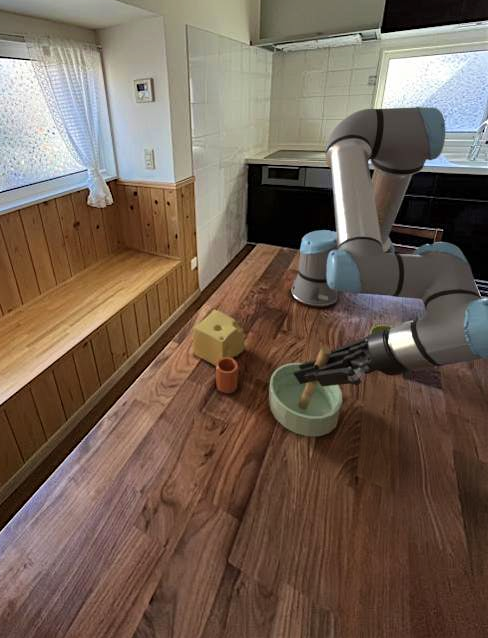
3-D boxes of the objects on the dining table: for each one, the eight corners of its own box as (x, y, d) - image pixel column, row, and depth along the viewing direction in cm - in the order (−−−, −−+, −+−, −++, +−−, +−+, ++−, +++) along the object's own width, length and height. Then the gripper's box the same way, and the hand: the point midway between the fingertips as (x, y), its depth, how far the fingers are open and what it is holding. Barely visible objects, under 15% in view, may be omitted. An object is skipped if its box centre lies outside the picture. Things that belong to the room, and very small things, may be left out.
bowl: (297, 371, 87) (299, 353, 84) (352, 413, 75) (356, 393, 73) (255, 401, 79) (256, 382, 77) (309, 452, 68) (312, 432, 65)
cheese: (244, 350, 95) (245, 322, 91) (222, 373, 87) (222, 343, 83) (215, 335, 101) (214, 308, 97) (192, 355, 94) (190, 327, 90)
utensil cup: (227, 374, 87) (227, 353, 84) (241, 388, 83) (242, 366, 80) (212, 384, 84) (211, 363, 82) (225, 398, 80) (225, 376, 78)
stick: (302, 400, 78) (326, 345, 69) (309, 407, 76) (333, 352, 68) (296, 403, 77) (319, 348, 68) (302, 411, 75) (326, 355, 67)
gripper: (405, 396, 52) (294, 411, 69) (424, 344, 62) (324, 369, 79) (374, 353, 53) (273, 379, 70) (398, 309, 63) (304, 341, 80)
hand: (300, 374), depth 75 cm, fingers closed on stick, 2 cm apart
